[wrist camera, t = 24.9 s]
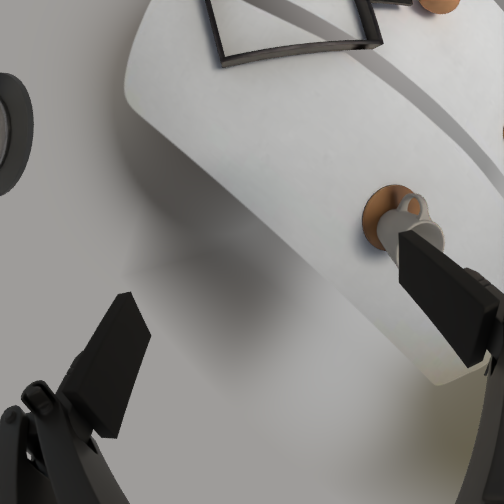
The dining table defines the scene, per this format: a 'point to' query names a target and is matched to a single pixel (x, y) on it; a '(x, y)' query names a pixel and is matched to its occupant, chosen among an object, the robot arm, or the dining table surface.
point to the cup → (408, 226)
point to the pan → (370, 29)
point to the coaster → (384, 210)
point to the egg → (439, 5)
